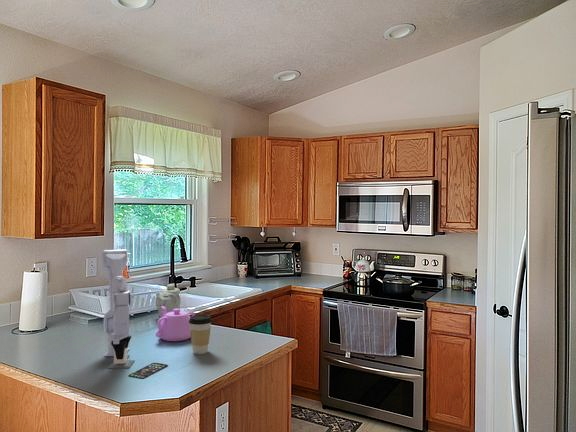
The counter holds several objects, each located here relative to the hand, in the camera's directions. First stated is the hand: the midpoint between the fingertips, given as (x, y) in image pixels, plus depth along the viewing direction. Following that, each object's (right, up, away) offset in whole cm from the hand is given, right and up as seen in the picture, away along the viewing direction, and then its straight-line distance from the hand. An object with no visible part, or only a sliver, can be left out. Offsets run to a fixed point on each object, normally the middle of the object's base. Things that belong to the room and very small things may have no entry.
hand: (121, 357), depth 174 cm
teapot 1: (-2, -2, +74) cm, 74 cm away
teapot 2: (+11, -3, +38) cm, 40 cm away
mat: (0, -3, 0) cm, 3 cm away
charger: (0, -2, 0) cm, 2 cm away
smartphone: (+13, -4, -6) cm, 14 cm away
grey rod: (-1, -3, +8) cm, 8 cm away
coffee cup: (+28, -3, +16) cm, 32 cm away
